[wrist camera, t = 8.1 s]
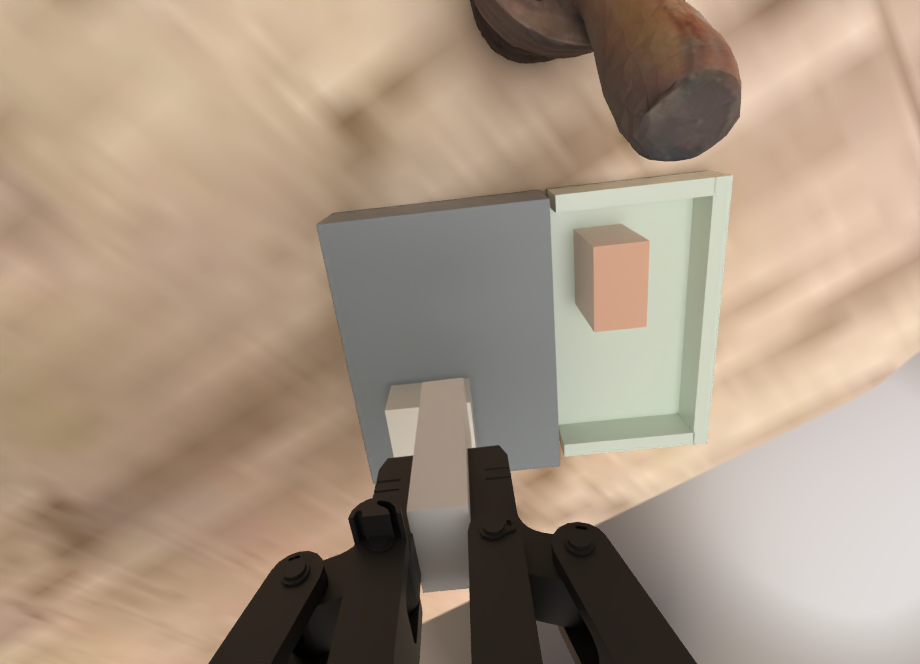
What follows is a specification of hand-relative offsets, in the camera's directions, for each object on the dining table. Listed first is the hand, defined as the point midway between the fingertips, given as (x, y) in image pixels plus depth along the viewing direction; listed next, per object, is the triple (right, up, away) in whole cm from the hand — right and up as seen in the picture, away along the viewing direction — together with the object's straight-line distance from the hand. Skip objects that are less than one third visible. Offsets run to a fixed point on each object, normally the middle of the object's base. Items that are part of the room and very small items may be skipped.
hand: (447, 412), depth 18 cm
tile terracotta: (+8, +6, +12) cm, 15 cm away
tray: (+11, +4, +16) cm, 20 cm away
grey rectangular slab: (0, +3, +16) cm, 16 cm away
